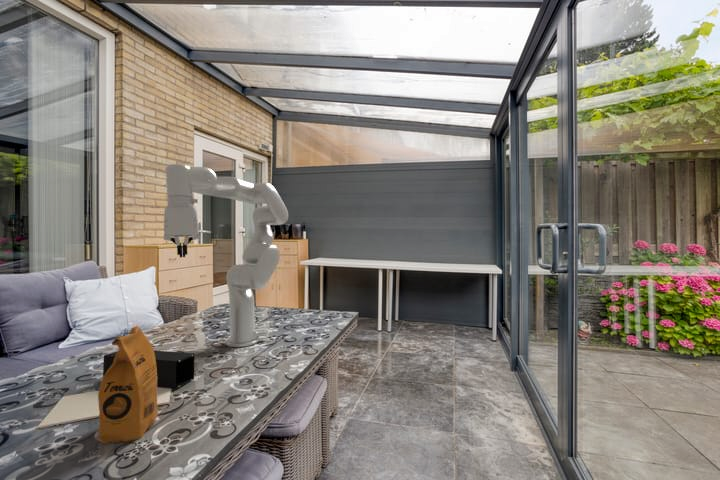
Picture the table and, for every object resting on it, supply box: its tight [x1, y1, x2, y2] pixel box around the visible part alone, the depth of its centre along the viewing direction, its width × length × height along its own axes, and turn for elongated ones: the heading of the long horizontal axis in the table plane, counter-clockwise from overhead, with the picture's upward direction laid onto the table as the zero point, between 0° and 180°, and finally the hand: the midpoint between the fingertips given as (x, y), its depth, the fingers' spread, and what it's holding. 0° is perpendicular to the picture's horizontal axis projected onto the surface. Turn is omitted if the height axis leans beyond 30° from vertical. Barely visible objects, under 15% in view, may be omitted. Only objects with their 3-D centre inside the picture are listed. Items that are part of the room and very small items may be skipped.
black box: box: [102, 350, 196, 390], centre depth 102 cm, size 8×8×28 cm
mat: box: [37, 387, 172, 430], centre depth 90 cm, size 26×16×1 cm, turn 115°
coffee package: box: [98, 325, 159, 444], centre depth 77 cm, size 10×12×22 cm
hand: (182, 257), depth 114 cm, fingers closed
